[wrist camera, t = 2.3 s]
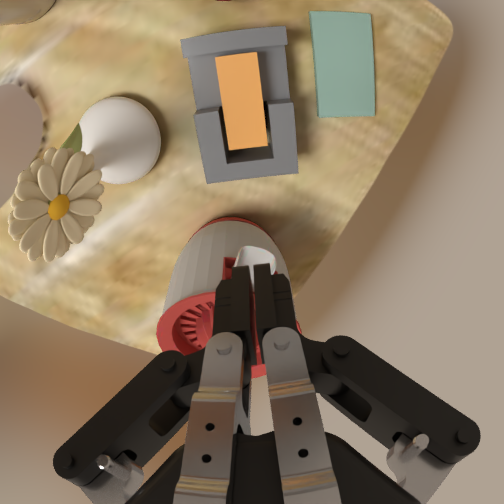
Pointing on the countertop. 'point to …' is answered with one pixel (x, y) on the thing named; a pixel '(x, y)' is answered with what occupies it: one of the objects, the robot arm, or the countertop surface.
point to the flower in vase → (81, 176)
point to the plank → (242, 100)
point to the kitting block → (273, 93)
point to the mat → (343, 63)
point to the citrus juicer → (212, 281)
